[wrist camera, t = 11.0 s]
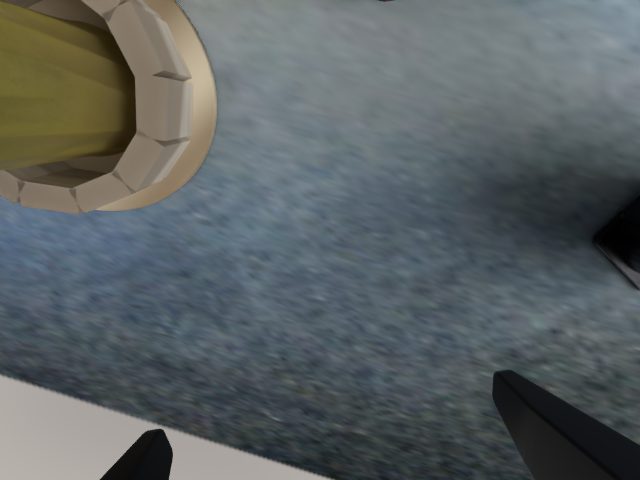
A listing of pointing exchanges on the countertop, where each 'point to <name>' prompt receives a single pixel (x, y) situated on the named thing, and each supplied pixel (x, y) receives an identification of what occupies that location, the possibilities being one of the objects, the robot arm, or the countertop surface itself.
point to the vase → (61, 90)
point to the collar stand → (151, 113)
